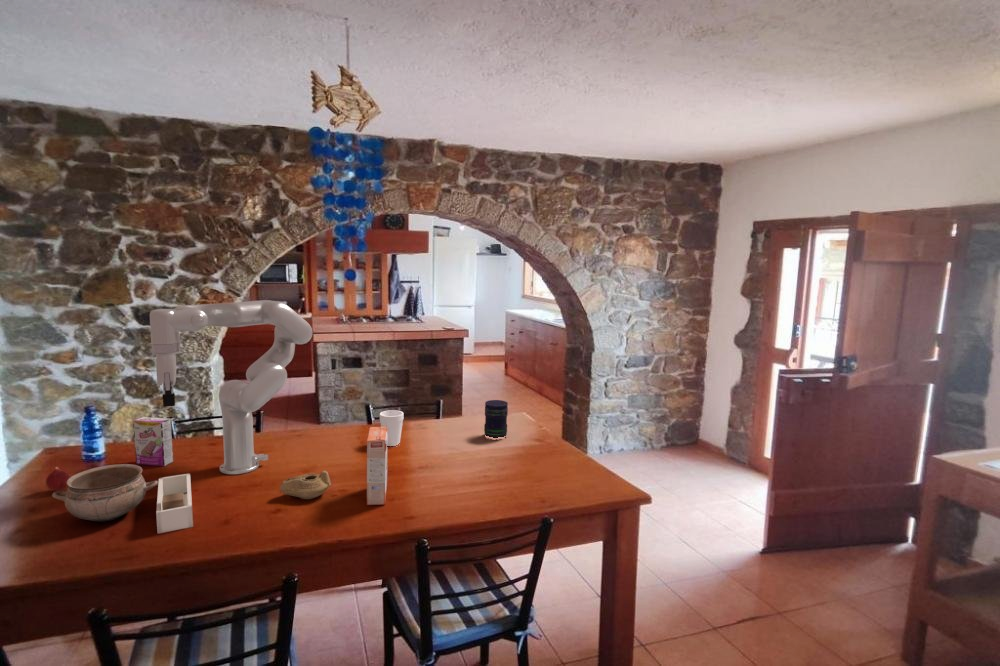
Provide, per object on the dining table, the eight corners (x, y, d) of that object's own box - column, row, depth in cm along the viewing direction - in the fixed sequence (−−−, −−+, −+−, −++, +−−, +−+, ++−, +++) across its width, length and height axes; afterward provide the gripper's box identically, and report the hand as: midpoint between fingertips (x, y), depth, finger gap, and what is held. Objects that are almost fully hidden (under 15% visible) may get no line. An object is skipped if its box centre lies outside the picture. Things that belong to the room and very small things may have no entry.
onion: (75, 489, 173) (73, 465, 172) (55, 496, 168) (53, 471, 166) (62, 486, 175) (60, 462, 174) (42, 493, 169) (40, 469, 168)
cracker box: (386, 505, 168) (386, 439, 165) (366, 506, 167) (365, 440, 164) (388, 486, 181) (388, 425, 179) (369, 487, 180) (369, 426, 178)
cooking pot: (41, 539, 143) (37, 495, 141) (67, 508, 160) (63, 468, 159) (152, 524, 152) (150, 482, 151) (165, 496, 170) (163, 459, 168)
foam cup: (400, 448, 217) (400, 417, 215) (377, 448, 217) (377, 416, 215) (405, 441, 226) (405, 410, 225) (382, 440, 226) (382, 409, 225)
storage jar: (481, 439, 231) (482, 405, 229) (486, 432, 240) (487, 399, 238) (505, 441, 229) (506, 406, 227) (508, 434, 239) (509, 400, 237)
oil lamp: (279, 493, 174) (278, 469, 173) (327, 485, 181) (327, 462, 180) (282, 507, 164) (281, 482, 163) (333, 499, 171) (333, 474, 170)
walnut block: (184, 508, 156) (183, 492, 155) (184, 516, 151) (183, 499, 151) (163, 512, 153) (162, 495, 152) (163, 520, 149) (162, 502, 148)
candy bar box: (134, 465, 194) (131, 420, 192) (145, 459, 199) (142, 416, 196) (164, 467, 193) (161, 422, 190) (174, 461, 198) (171, 417, 195)
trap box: (191, 491, 174) (190, 473, 173) (193, 526, 152) (192, 506, 151) (160, 496, 170) (158, 478, 169) (157, 533, 147) (156, 512, 147)
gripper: (152, 345, 175) (156, 401, 177) (150, 353, 162) (154, 413, 165) (179, 344, 179) (182, 399, 181) (179, 351, 166) (183, 410, 168)
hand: (169, 405), depth 173 cm, fingers closed
